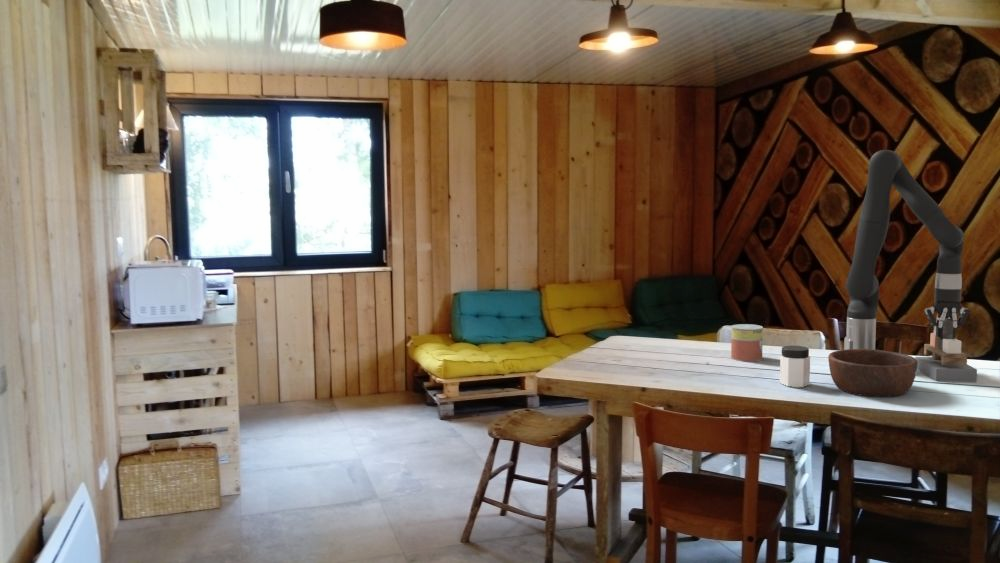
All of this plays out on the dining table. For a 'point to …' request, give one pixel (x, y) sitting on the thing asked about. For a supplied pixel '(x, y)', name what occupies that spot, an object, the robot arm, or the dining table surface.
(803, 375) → the jar
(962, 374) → the dock
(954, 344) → the block
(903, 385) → the wooden bowl
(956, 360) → the pallet
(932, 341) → the cargo terracotta
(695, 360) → the dining table surface
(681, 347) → the dining table surface
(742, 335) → the canned food
